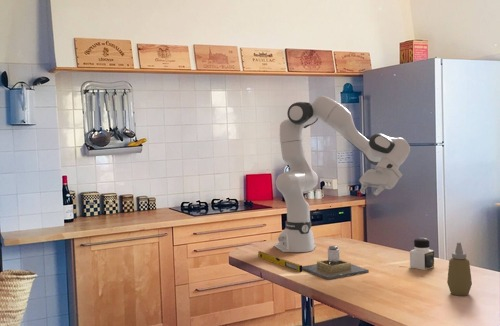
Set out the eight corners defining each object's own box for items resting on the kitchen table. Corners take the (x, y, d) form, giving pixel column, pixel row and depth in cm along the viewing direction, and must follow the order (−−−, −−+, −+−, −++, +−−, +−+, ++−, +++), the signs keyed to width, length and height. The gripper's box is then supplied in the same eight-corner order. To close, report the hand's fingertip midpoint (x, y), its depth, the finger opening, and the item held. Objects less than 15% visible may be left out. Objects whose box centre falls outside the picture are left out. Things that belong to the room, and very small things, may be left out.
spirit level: (258, 257, 261) (258, 251, 261) (260, 257, 262) (260, 251, 262) (299, 272, 232) (299, 265, 232) (302, 272, 233) (302, 265, 233)
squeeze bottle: (459, 298, 191) (458, 246, 190) (442, 292, 198) (441, 242, 197) (477, 294, 194) (476, 243, 193) (459, 289, 201) (459, 239, 200)
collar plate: (300, 268, 237) (300, 260, 237) (339, 262, 246) (339, 254, 246) (327, 279, 219) (327, 270, 219) (368, 272, 228) (368, 263, 228)
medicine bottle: (425, 270, 228) (424, 241, 227) (409, 267, 234) (409, 239, 233) (434, 267, 233) (434, 238, 232) (419, 264, 238) (418, 236, 237)
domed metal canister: (325, 267, 234) (325, 246, 233) (335, 266, 236) (334, 245, 235) (332, 270, 230) (331, 248, 229) (342, 268, 232) (341, 247, 231)
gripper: (366, 163, 257) (349, 186, 254) (396, 166, 239) (378, 190, 235) (374, 172, 260) (358, 195, 256) (405, 175, 241) (387, 200, 238)
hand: (368, 193), depth 246 cm, fingers open, 8 cm apart
